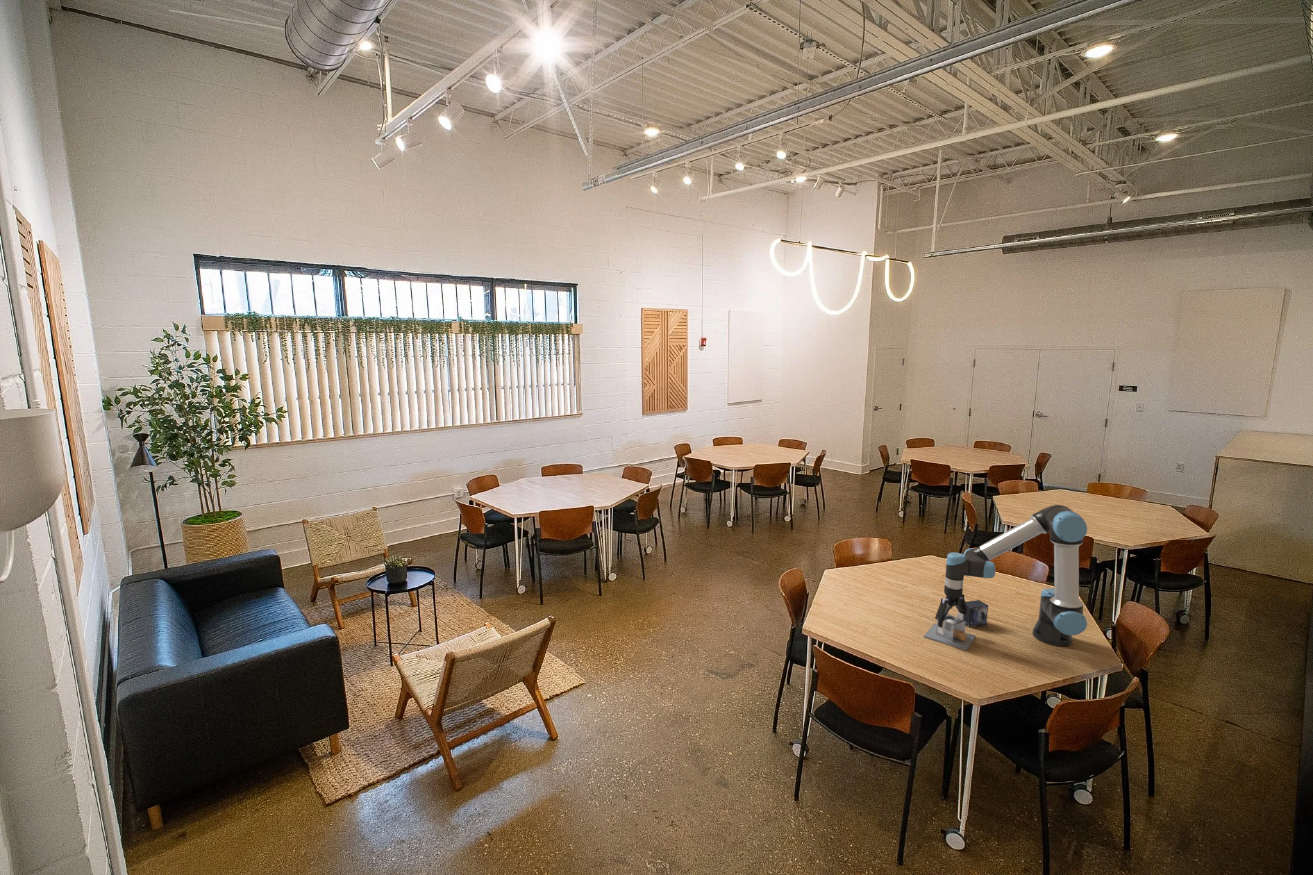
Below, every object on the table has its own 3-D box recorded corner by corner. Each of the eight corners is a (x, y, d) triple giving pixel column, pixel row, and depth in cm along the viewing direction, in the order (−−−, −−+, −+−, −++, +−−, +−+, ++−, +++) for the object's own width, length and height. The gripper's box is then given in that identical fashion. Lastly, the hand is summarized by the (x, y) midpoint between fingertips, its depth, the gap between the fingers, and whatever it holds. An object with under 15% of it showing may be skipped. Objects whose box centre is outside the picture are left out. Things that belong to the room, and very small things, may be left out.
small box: (969, 628, 275) (971, 607, 273) (959, 622, 281) (960, 601, 279) (987, 625, 278) (989, 604, 276) (976, 619, 284) (978, 599, 282)
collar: (947, 629, 272) (948, 613, 270) (970, 640, 262) (971, 623, 261) (935, 633, 268) (937, 617, 266) (958, 644, 258) (960, 628, 257)
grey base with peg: (975, 637, 266) (976, 621, 265) (966, 650, 254) (967, 634, 253) (934, 624, 278) (935, 609, 277) (923, 637, 266) (924, 621, 265)
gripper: (962, 578, 272) (959, 620, 275) (928, 588, 260) (925, 632, 263) (978, 583, 265) (974, 626, 268) (943, 595, 253) (940, 639, 256)
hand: (950, 629), depth 266 cm, fingers open, 13 cm apart
